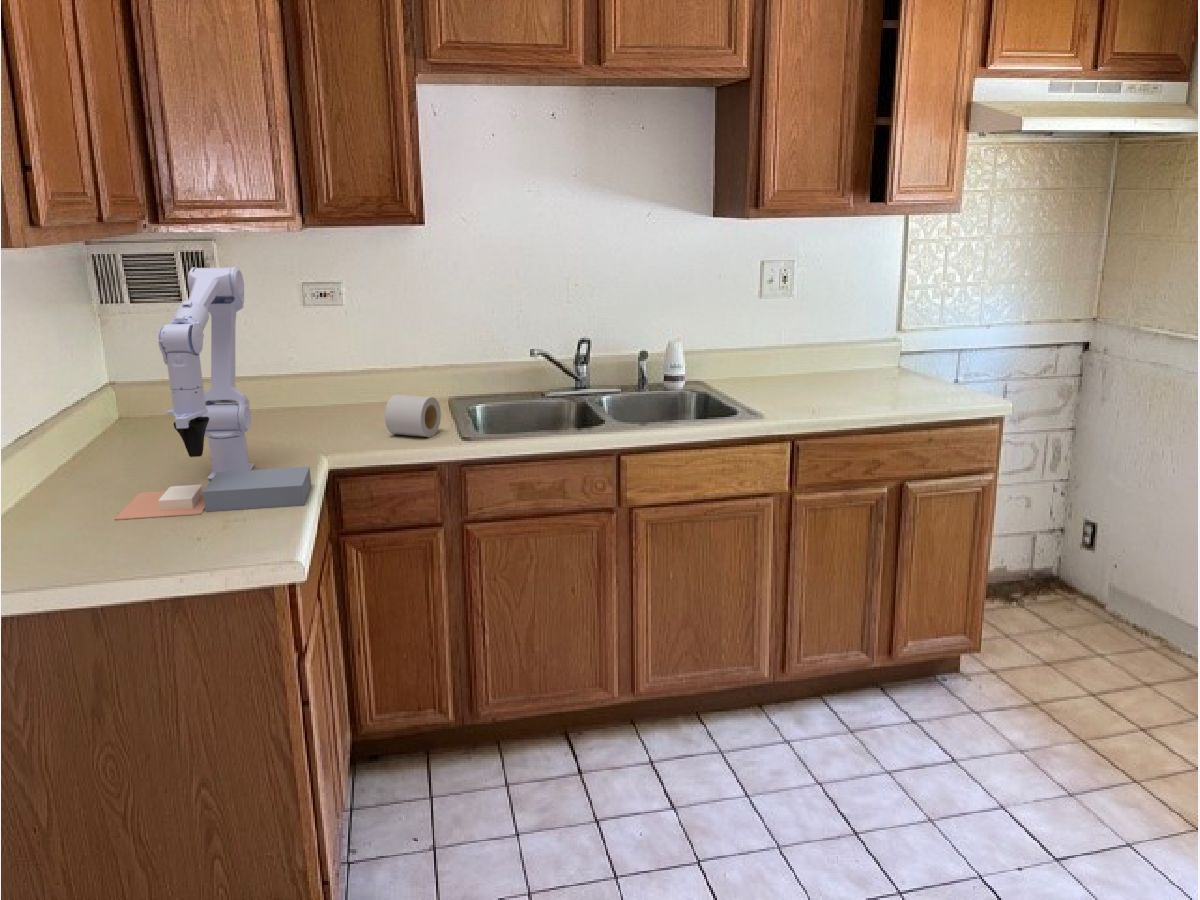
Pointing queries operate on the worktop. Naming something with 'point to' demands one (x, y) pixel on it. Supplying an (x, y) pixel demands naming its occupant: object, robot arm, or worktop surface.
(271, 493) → the plate
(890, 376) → the worktop surface
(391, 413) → the toilet paper
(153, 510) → the terracotta mat
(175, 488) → the white rectangular block
